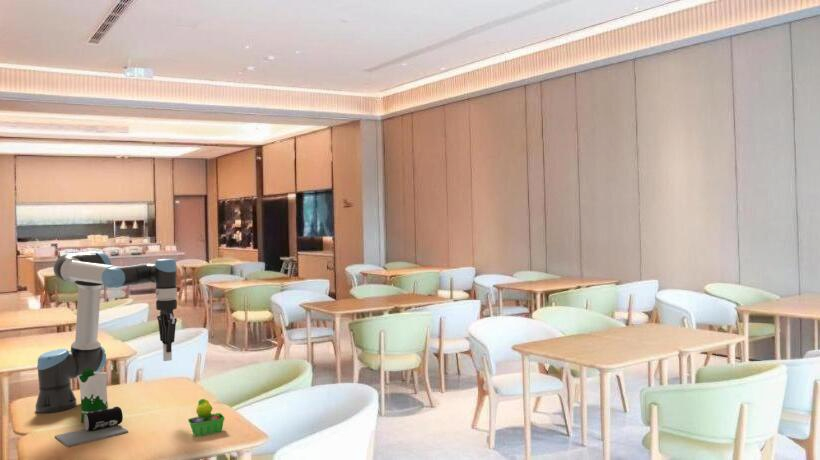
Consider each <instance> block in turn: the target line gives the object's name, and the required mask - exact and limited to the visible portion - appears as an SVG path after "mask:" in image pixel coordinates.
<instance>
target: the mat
mask: <svg viewBox="0 0 820 460" xmlns="http://www.w3.org/2000/svg"><path fill="white" fill-rule="evenodd" d="M126 433H129V430H128V429H126V428H124V427H122V426H121V425H120V424H119V425H114V426H110V427H105V428H101V429H97V430H92V431H91V430H86V429H85V428H83V429H77V430H74V431H70V432H66V433H61V434H57V435H54V438H55V439H56V440H58V441H59V442H60V443H62V445H64V446H66V447H67V448H71V447H76V446H78V445H83V444H88V443H92V442H94V441H98V440H103V439H106V438H107V439H108V438H111V437H114V436H120V435H122V434H126Z"/></svg>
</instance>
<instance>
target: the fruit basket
mask: <svg viewBox="0 0 820 460" xmlns="http://www.w3.org/2000/svg"><path fill="white" fill-rule="evenodd" d="M212 411H213V406H212V404H210V402H209V400H207V399H206V398H201V399H199V400H198V405H197V408H196V415H197V416H196V417H191V418H188V419H187V420H188V423H189V425H190V428H191V431H192V434H193V436H195V437H201V436H206V435H211V434H212V435H213V434H217V433H222V431H223V425H224V421H225V418H226V417H225V416H224V415H223V414H222V413H221V412H216V413H212Z"/></svg>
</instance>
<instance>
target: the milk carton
mask: <svg viewBox="0 0 820 460" xmlns="http://www.w3.org/2000/svg"><path fill="white" fill-rule="evenodd" d="M108 373H109V372H106V371H105V372H104V371H99V372H94V370H93V369H86V370H82V375H79V376H77V378H76V379H77V381H78V385H79V389H80V390H79V392H80V393H79V394H80V407H81V409H80V410H81V419H80V420H81V422H80V423H82V424H84V415H85V414H88V413H89V412H93V411H98V410H103V409H107V408H109V405H108V392H107V391H108V390H107V389H108V387H107V381H108V380H107V379H108Z"/></svg>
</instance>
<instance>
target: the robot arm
mask: <svg viewBox="0 0 820 460" xmlns="http://www.w3.org/2000/svg"><path fill="white" fill-rule="evenodd" d="M177 270H178V269H177V262H176V260H175V259H173V258H160V259H159V258H158V259H156V260H155V263H148V262H143V263H139V264H136V265H134V264H133V265H125V266H124V265H123V266H119V265H113V264H112V261H111V259H110V258H109V256H108V254H106V253H105V252H103V251H93V250H92V251H84V252H83V251H82V252H75V253H74V252H73V253H65V254H64V255H61V256H60V257H59V258H57V260H55V262H54V265H53V273H54V275H55V277H56V278H57V279H58V280H60V281H62V282H68V283H73V282H74V284H75V285H76V286H77V287H78V290H77V291H78V292H77V305H76V306H77V310H76V322H75V323H76V325H75V340H74V341H73V342H72V343H71V345H70V350H69V349H67V348H59V349H54V350H50V351H46V352H44V353H42V354H40V356H38V358H37V366H36V369H37V375H38V378H37V379H38V386H39V387H38V396H37V400H36V402H35V412H36V413H39V414H40V413H42V414H45V413H47V414H49V413H56V412H62V411H67V410H69V409H70V410H71V409H73V408H75V407H76V406H77V403H78V402H77V397H76V395H75V393H74V391H73V389H72V385H71V384H72V383H71V380H72V379H78V378H77V376H79V375H82V370H86V369H93V370H94V372H101V371H102V370H103V368H105V365H106V362H107V354H106V350H105V348H104V347H103V346H102V344H101V343H100V341H98V337H99V334H98V333H99V320H100V304H101V303H100V302H101V291H102V290H101V289H102V287H103V286H105V287H106V288H110V289H113V288H121V287H127V286H135V285H142V284H144V285H145V284H155V292H154V293H155V298H156V299H157V300H155V306H156V307H155V309H156V311H160V312H159V315H157V317H156V318H157V323H158V324H157V325H158V329H159V330H158V331H159V340H160V342H161V343H162V348H163V349H162V350H163V351H162V353H163V354H162V355H163V356H162V359H163V362H168V361H169V362H170V361H173V357H172V356H173V354H172V353H173V351H172V350H173V349H172V346H173V345H172V344H173V343H175V337H176V328H177V327H176V325H177V317H176V318H174V317H175V316H174V310H177V309H178V300H177V298H178V289H177V286H178V285H177Z"/></svg>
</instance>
